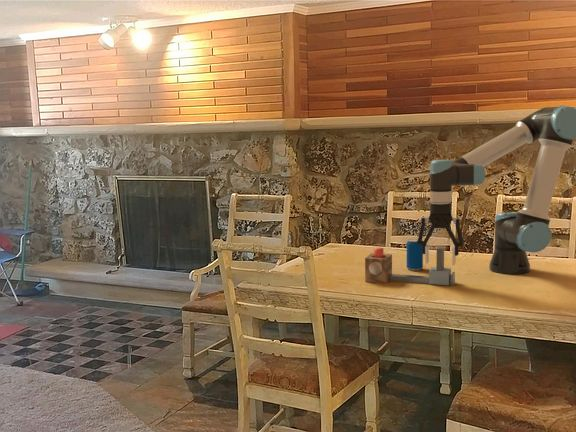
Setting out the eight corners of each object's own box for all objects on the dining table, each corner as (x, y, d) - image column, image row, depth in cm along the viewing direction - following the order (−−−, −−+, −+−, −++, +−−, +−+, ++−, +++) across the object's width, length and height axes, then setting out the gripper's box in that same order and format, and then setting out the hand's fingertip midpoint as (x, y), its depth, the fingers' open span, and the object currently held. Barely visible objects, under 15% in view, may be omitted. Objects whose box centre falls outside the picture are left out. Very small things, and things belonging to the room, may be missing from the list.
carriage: (450, 281, 228) (451, 246, 226) (448, 285, 223) (449, 250, 221) (431, 280, 231) (431, 245, 229) (429, 284, 225) (429, 249, 224)
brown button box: (392, 276, 239) (391, 254, 237) (386, 283, 229) (385, 259, 228) (371, 275, 242) (371, 253, 240) (365, 281, 232) (364, 258, 231)
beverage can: (422, 271, 246) (423, 241, 245) (406, 270, 248) (406, 241, 246) (422, 267, 253) (422, 238, 251) (406, 267, 254) (406, 238, 252)
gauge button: (384, 262, 236) (384, 247, 235) (382, 264, 232) (382, 249, 231) (375, 261, 237) (375, 247, 236) (373, 263, 234) (372, 249, 233)
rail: (454, 282, 227) (455, 272, 227) (453, 285, 223) (453, 275, 222) (390, 278, 236) (390, 268, 236) (387, 281, 232) (387, 271, 231)
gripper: (472, 201, 222) (472, 262, 225) (412, 200, 230) (412, 259, 233) (470, 204, 215) (469, 267, 218) (408, 203, 223) (408, 264, 226)
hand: (440, 263), depth 226 cm, fingers open, 9 cm apart
